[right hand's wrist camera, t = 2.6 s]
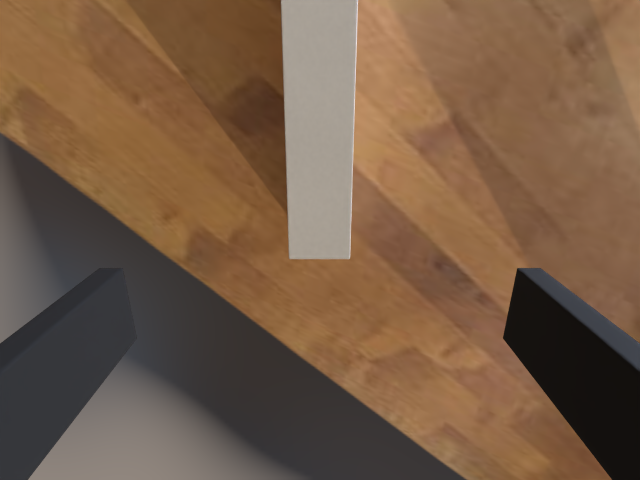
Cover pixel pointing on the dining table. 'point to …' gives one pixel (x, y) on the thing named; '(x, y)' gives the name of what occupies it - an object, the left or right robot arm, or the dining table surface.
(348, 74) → the post
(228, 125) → the dining table surface
